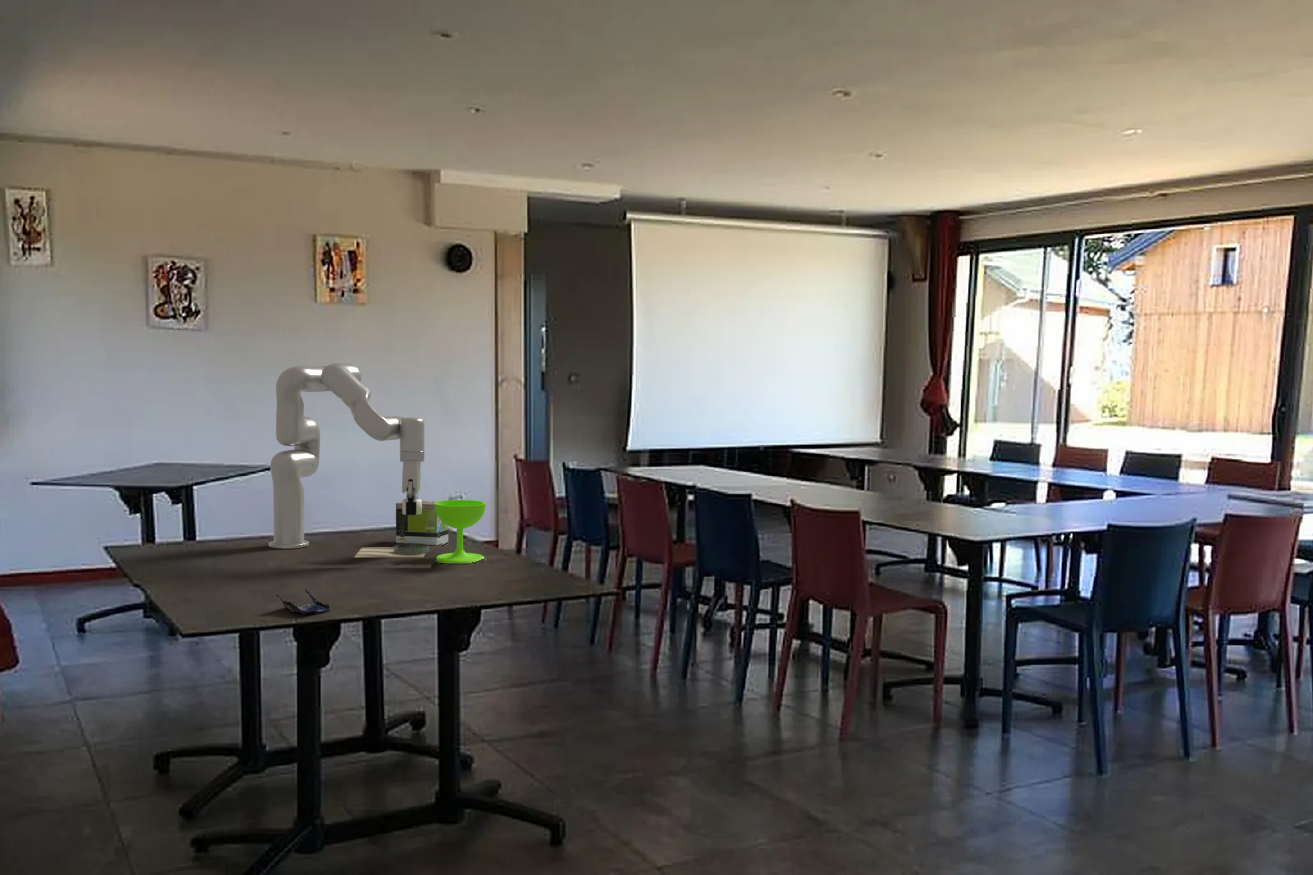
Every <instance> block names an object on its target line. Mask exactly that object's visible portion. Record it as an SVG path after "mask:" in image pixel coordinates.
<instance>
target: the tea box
mask: <svg viewBox="0 0 1313 875" xmlns="http://www.w3.org/2000/svg"><path fill="white" fill-rule="evenodd" d="M438 501H439V500H438ZM438 501H437V500H422V514H419V515H404V514H403V501H400V502H396V503H395V543H397V544H405V543H421V544H427V545H429V546H438V545H440V544H441V546H442V545H443V544H445V543H447V542H448V543H449V526H447V525H446V524H444V523H443V522H442V521H441V520H440V519H439V517H438V516H437V514H436V511H435V507H434V502H438Z"/></svg>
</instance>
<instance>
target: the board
mask: <svg viewBox="0 0 1313 875" xmlns="http://www.w3.org/2000/svg"><path fill="white" fill-rule="evenodd" d="M425 555H426V553H425V554H419V555H401V554H396V553H394V546H392V547H387V546H386V547H385V546H384V547H383V546H381V547H379V546H378V547H377V546H375V547H372V546H371V547H369V546H368V547H367V546H366V547H361V548H360V549H359V551H358V552H357V553H356V554H355V555H354V558H424V557H425Z"/></svg>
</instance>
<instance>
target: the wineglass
mask: <svg viewBox="0 0 1313 875" xmlns="http://www.w3.org/2000/svg"><path fill="white" fill-rule="evenodd" d="M486 505H487V502H485V501H482V500H475V499H474V500H473V499H447V500H438V502H434V507H435V511H436V514H437V516H438V517H439V519H440V520H441V521H442V522H443V523H444V524H446V525H447V526H448V527H450V528H453V529H456V549H455V551H454V552H449V553H448V552H447V553H443V554H439V555H437V556H436V558H435V560H434V562H435V561H437V562H442V563H472V562H476V561H479V560H481V559H484V558H485V556H483V555H482V554H479V553H475V552H474V553H472V552H466V550H465V549H464V529H467V528H470V527H472V526H474V525H475V524H477V523H478V522H479V521H480V520H481V518H482V517H483V516H484V513H485V511H486V507H487V506H486Z"/></svg>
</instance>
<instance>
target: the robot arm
mask: <svg viewBox="0 0 1313 875" xmlns="http://www.w3.org/2000/svg"><path fill="white" fill-rule="evenodd" d="M314 392H315V393H316V392H317V393H321V392H322V393H324V392H331V393H333V394H334V395H335V396H336V397H337V398H338V399H339V400H340V401H341V402H342V403H343V404H345V405H346V407H348V408H349V410H350V413H351V416H352V417H353V419H354V422H355V423H356V424H357V426H358V427H359V428H360V429H361V430H363V432H364V433H365V434H367V435H368V437H371V439H374V440H376V441H378V442H379V441H380V442H384V441H386V442H387V441H394V440H395V441H396V440H399V462H401V463H402V474H401V475H402V478H401V481H402V482H401V493H402V494H406V498H405V499H406V515H416V502H415V501H416V498H418V499H419V495H418V494H419V491H421V490H420V489H421V474H422V472H421V470H422V469H421V466H422V464H421V463H423V462H425V420H424V419H423V418H421V417H403V416H397V415H395V416H394V415H391V416H389V415H388V416H387V415H386V416H381V415H380V414H379V413H378V412H377V411H376V410H375V409H374V408H372V406H371V405H370V402H369V401H370V399H371V396H372V394H371V393H372V392H371V390H370V389H369V388H368V387H367V386H366V385H365V384H363V383H362V374H361V371H360V369H359V368H358V367H357V366H356V365H354V364H352V363H331V364H328V365H321V366H319V365H315V366H314V365H311V366H310V365H296V366H292V367H288V368H287V369H285V370H283V371H282V372H281V374H279V376H278V378H277V380H276V384H275V394H276V395H275V396H276V411H275V412H276V413H275V414H276V415H275V420H276V421H275V437H276V438H275V439H276V440H277V442H278V443H279V445H281V446H284V447H293V449H288V450H283V451H278V452H277V453H276V454H275V455H274V456H273V457H272V458H271V460H270V464H269V465H270V468H269V469H270V474H271V479H272V488H273V489H272V490H273V541H269V543H268V547H269V548H273V549H299V548H300V549H301V548H304V547H308V546H309V545H310V542H309V540H305V492H304V487H303V483H302V480H301V478H307V477H310V476H313V475H314V474H315V473H316V472H317V470H318V468H319V465H320V451H321V450H320V449H321V448H320V447H321V431H320V427H319V425H318V423H317V422H316V421H315V419H313V418H312V417H309V416H304V415H305V414H304V412H305V404H304V403H305V402H304V400H303V397H302V395H301V394H302V393H314Z"/></svg>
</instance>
